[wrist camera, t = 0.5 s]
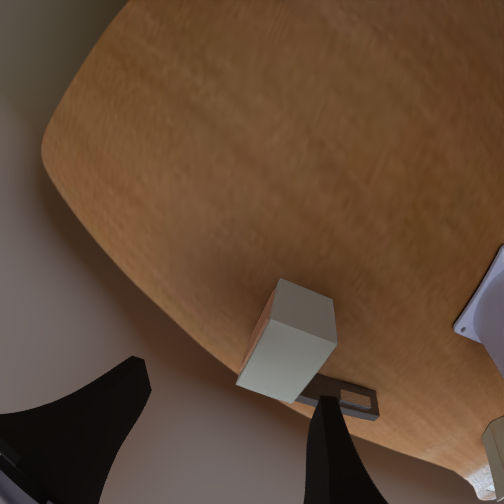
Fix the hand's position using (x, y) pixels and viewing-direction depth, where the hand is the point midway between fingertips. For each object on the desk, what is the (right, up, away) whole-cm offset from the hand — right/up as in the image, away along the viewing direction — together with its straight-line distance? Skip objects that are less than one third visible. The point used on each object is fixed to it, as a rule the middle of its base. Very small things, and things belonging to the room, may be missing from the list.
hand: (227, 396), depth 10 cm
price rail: (+8, -5, +12) cm, 15 cm away
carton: (+4, +1, +10) cm, 11 cm away
